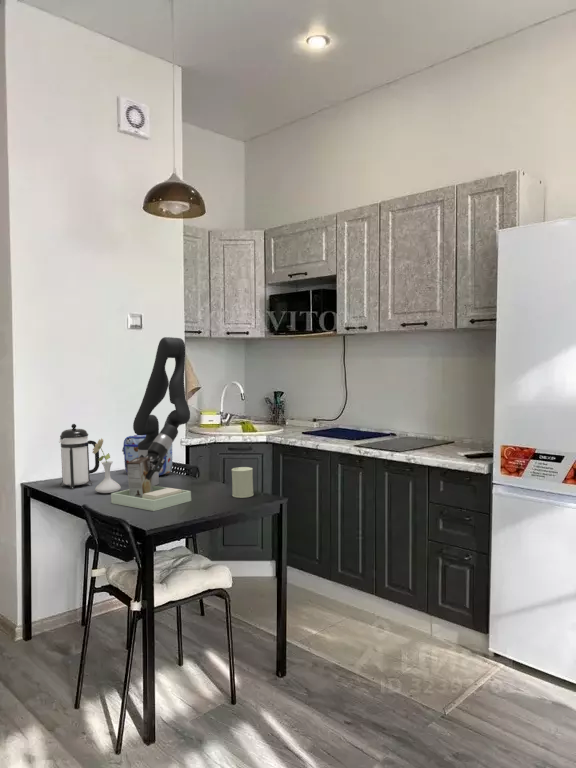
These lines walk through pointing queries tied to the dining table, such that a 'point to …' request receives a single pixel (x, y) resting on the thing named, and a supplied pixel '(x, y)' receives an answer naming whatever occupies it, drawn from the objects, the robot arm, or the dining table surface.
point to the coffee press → (76, 457)
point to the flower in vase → (107, 483)
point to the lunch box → (132, 452)
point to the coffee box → (139, 477)
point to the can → (242, 482)
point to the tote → (148, 504)
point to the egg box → (161, 493)
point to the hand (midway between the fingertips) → (140, 477)
